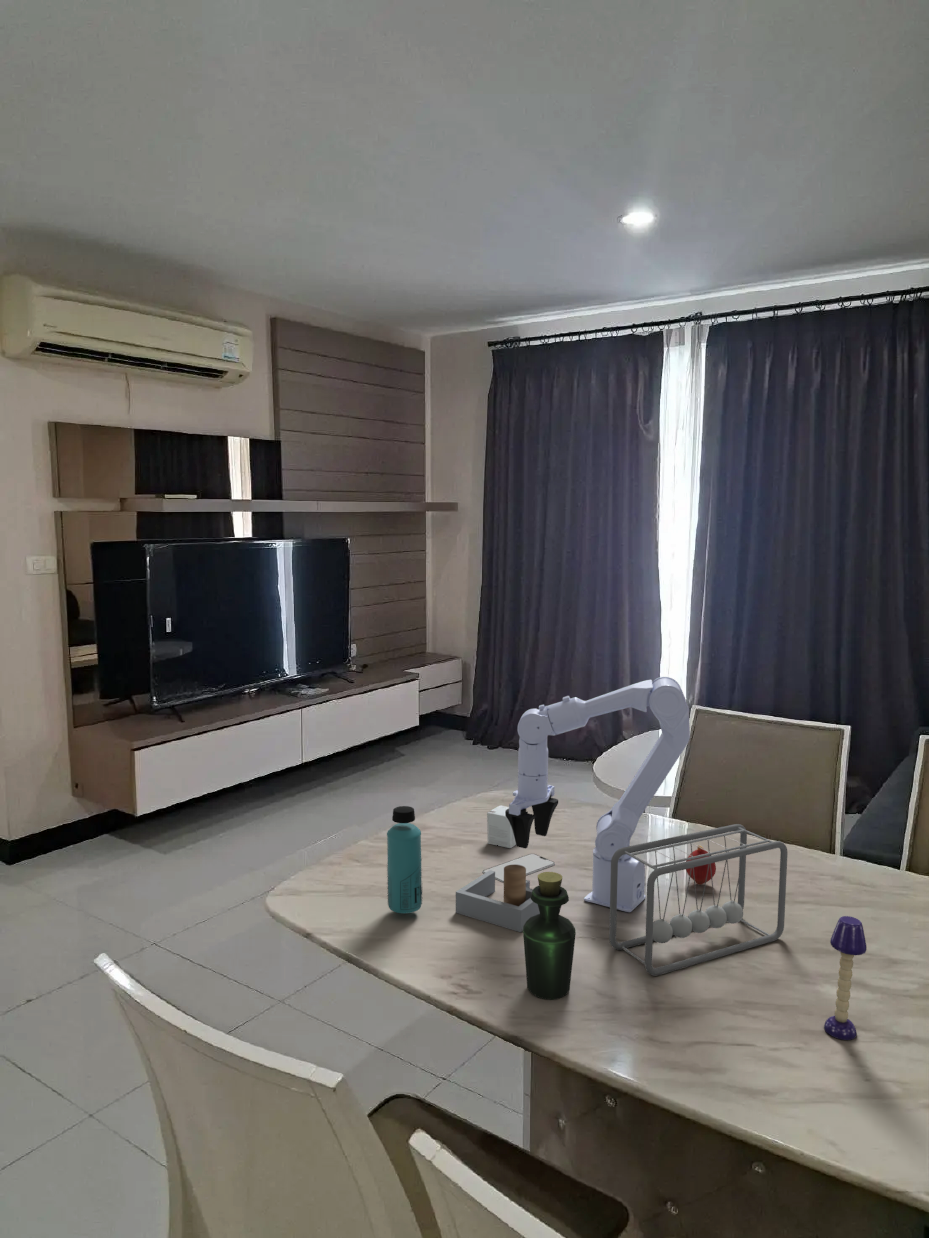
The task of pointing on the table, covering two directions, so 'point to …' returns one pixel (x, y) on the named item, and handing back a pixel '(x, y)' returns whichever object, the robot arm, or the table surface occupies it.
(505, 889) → the peg
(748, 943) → the newton's cradle
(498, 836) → the skincare box
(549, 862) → the smartphone
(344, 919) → the table surface
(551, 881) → the potion bottle
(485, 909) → the channel
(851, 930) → the toy lamp
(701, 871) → the onion
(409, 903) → the beverage bottle
